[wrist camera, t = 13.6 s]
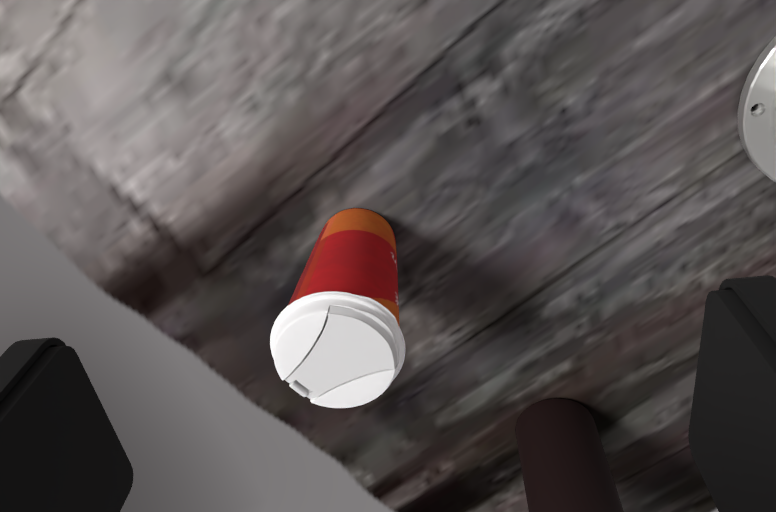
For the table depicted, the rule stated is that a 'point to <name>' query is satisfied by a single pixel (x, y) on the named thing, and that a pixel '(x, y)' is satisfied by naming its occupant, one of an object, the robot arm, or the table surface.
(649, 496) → the table surface
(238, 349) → the table surface
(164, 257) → the table surface
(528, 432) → the bottle
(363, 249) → the paper cup
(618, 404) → the table surface
